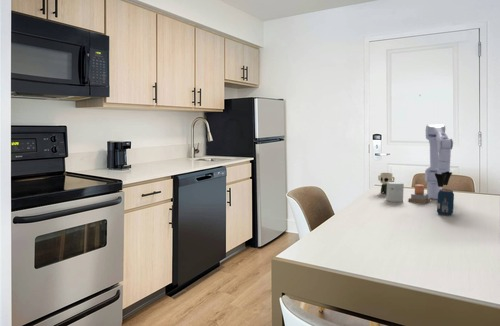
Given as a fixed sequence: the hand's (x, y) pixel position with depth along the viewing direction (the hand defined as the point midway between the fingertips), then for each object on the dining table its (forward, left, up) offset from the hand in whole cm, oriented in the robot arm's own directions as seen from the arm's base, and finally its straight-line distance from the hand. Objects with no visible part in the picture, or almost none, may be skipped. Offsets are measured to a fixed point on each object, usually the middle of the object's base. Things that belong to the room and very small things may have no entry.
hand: (442, 185), depth 194 cm
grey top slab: (0, -12, -9) cm, 15 cm away
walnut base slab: (0, -12, -11) cm, 16 cm away
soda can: (+22, +8, -11) cm, 26 cm away
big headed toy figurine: (-9, -36, -11) cm, 39 cm away
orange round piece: (0, -12, -6) cm, 14 cm away
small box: (+8, -23, -11) cm, 26 cm away
